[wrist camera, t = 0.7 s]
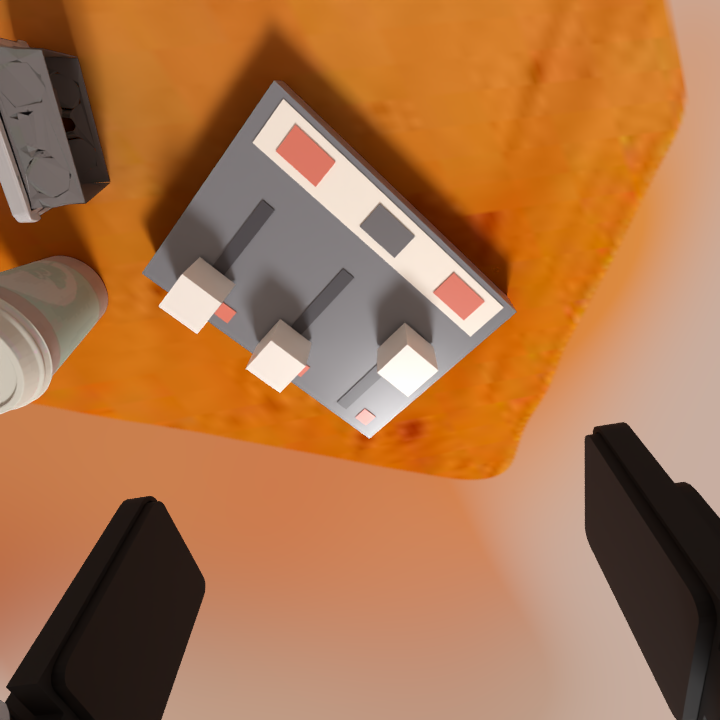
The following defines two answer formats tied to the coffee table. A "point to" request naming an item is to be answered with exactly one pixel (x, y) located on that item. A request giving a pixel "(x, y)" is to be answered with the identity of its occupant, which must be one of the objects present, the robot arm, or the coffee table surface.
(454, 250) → the switch unit
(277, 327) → the middle switch
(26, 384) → the coffee cup
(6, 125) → the electrical switch
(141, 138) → the coffee table surface
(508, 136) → the coffee table surface
